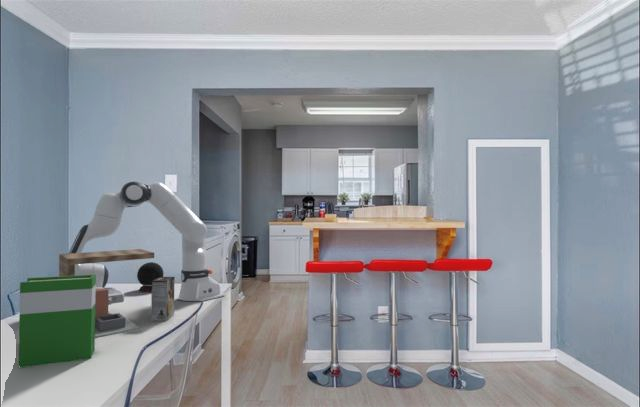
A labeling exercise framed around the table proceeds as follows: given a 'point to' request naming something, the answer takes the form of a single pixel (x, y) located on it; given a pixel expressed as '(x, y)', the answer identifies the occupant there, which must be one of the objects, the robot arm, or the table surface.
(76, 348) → the hardback book
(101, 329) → the socket
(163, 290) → the coffee box
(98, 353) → the table surface
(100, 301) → the peg
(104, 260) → the l-shaped wooden plank
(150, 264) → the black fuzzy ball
